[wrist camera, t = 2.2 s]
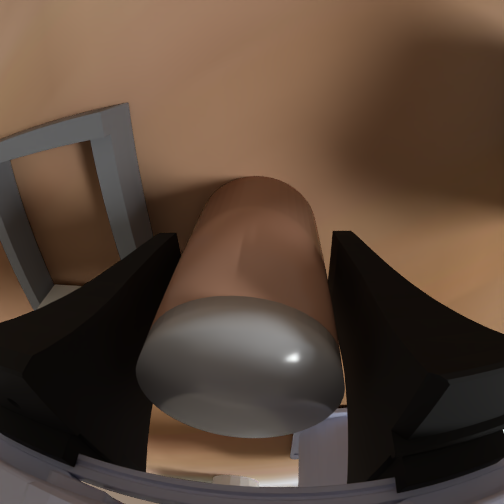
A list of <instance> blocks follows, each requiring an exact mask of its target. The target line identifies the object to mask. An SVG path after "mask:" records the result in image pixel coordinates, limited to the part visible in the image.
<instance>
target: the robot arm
mask: <svg viewBox="0 0 504 504" xmlns="http://www.w3.org/2000/svg"><path fill="white" fill-rule="evenodd" d="M180 258H181V254H180V249H179V244H178V239H177V234H176V233H159V234H157V235H156V236H154V237H152V238H151V239H149V240H148V241H146V242H145V243H144V244H142V245H141V246H140V247H138V248H137V249H135V250H134V251H133V252H131V253H130V254H129V255H127V256H126V257H124V258H123V259H122V260H120V261H119V262H118V263H116V264H115V265H113V266H112V267H110V268H109V269H107V270H106V271H105V272H103V273H102V274H100V275H99V276H97V277H96V278H94V279H93V280H91V281H90V282H88V283H86V284H85V285H83V286H81V287H80V288H78V289H76V290H75V291H73V292H71V293H69V294H67V295H66V296H63V297H61V298H59V299H57V300H55V301H53V302H51V303H49V304H47V305H45V306H43V307H41V308H39V309H36V310H34V311H32V312H29V313H27V314H24V315H22V316H19V317H16V318H14V319H11V320H8V321H4V322H1V323H0V504H124V503H122V502H120V501H118V500H116V499H114V498H112V497H111V496H110V495H108V494H107V493H106V492H104V491H101V490H99V489H96V488H94V487H92V486H89V485H87V484H85V483H83V482H86V483H89V484H92V485H95V486H97V487H100V488H103V489H107V490H110V491H113V492H117V493H120V494H123V495H127V496H130V497H134V498H138V499H142V500H146V501H151V502H154V503H159V504H504V432H503V429H504V334H502V333H500V332H497V331H494V330H492V329H489V328H487V327H485V326H483V325H481V324H479V323H476V322H474V321H472V320H470V319H468V318H466V317H464V316H462V315H460V314H459V313H457V312H455V311H453V310H452V309H450V308H448V307H446V306H445V305H443V304H441V303H439V302H438V301H436V300H435V299H433V298H432V297H430V296H429V295H427V294H426V293H424V292H423V291H421V290H420V289H419V288H417V287H416V286H414V285H413V284H412V283H410V282H409V281H408V280H406V279H405V278H404V277H403V276H401V275H400V274H399V273H398V272H396V271H395V270H394V269H393V268H392V267H390V266H389V265H388V264H387V263H386V262H385V261H384V260H382V259H381V258H380V257H379V256H378V255H377V254H376V253H375V252H374V251H373V250H371V249H370V248H369V247H368V246H367V245H366V244H365V243H364V242H363V241H362V240H361V239H360V238H359V237H358V236H356V235H355V234H354V233H353V232H352V231H333V235H332V246H331V257H330V267H329V276H328V285H329V290H330V296H331V301H332V307H333V313H334V318H335V324H336V330H337V337H338V342H339V346H340V351H341V355H342V360H343V366H344V373H345V384H346V398H347V408H337V409H336V410H335V411H334V412H333V413H332V414H331V415H330V416H329V417H328V418H326V419H325V420H324V421H322V422H320V423H318V424H317V425H315V426H312V427H310V428H308V429H305V430H302V431H299V432H296V433H293V439H292V446H291V453H290V458H291V459H299V483H298V487H251V486H235V485H223V484H213V483H204V482H197V481H190V480H183V479H177V478H171V477H166V476H161V475H156V474H151V473H146V458H147V443H148V434H149V425H150V417H151V410H152V404H153V403H152V402H151V401H150V400H149V399H148V398H147V397H146V395H145V394H144V393H143V391H142V390H141V388H140V386H139V384H138V381H137V377H136V365H137V361H138V358H139V356H140V353H141V351H142V348H143V346H144V343H145V341H146V338H147V336H148V333H149V331H150V328H151V326H152V323H153V321H154V318H155V316H156V313H157V311H158V309H159V306H160V304H161V301H162V299H163V297H164V294H165V292H166V290H167V287H168V285H169V283H170V280H171V278H172V276H173V274H174V271H175V269H176V267H177V264H178V262H179V260H180ZM81 481H83V482H81Z"/></svg>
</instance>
